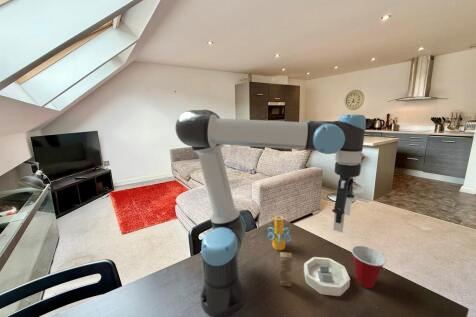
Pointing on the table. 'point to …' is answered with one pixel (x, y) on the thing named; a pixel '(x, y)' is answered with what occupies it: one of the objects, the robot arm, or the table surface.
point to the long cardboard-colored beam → (285, 268)
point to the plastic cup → (367, 265)
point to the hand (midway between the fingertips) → (342, 221)
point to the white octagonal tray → (326, 276)
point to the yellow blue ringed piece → (278, 234)
